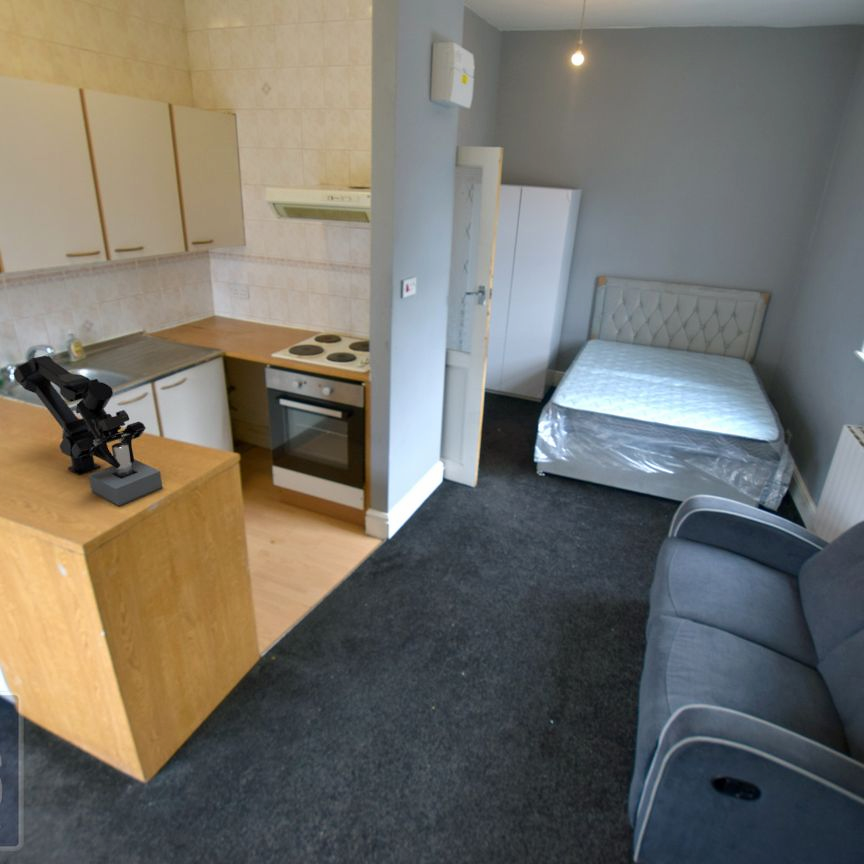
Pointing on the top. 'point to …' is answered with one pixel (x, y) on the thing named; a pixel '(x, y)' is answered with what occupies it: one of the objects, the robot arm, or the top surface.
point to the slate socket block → (125, 483)
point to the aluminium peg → (122, 459)
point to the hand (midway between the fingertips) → (125, 464)
